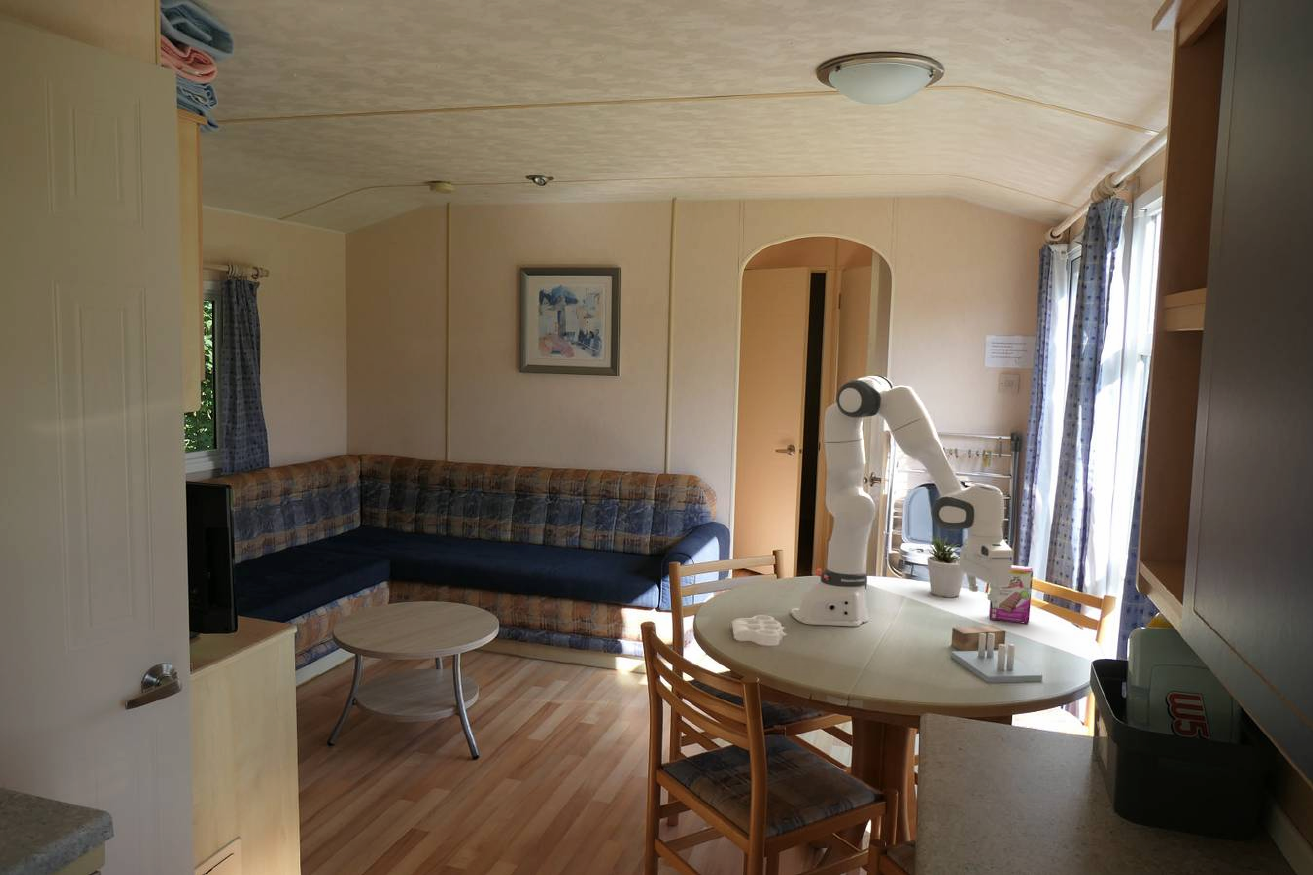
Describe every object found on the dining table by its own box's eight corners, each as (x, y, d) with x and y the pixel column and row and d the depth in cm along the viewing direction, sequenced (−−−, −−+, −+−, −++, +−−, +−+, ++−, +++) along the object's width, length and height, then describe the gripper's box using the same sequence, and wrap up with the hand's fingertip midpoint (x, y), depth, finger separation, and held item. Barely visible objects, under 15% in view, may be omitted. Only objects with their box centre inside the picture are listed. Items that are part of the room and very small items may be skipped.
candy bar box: (989, 620, 260) (992, 566, 258) (988, 615, 265) (992, 562, 263) (1029, 624, 256) (1033, 570, 255) (1028, 620, 261) (1032, 566, 260)
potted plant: (962, 590, 294) (966, 532, 293) (967, 600, 281) (971, 539, 279) (923, 587, 297) (927, 529, 295) (926, 597, 284) (930, 536, 282)
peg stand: (988, 682, 207) (990, 651, 206) (950, 657, 224) (952, 628, 224) (1042, 681, 209) (1044, 650, 208) (1000, 656, 226) (1002, 628, 226)
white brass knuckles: (731, 625, 247) (782, 627, 246) (734, 646, 229) (790, 648, 229) (731, 613, 247) (783, 615, 246) (734, 633, 229) (790, 635, 228)
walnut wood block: (962, 651, 230) (964, 633, 229) (951, 645, 235) (952, 627, 234) (1004, 648, 234) (1005, 630, 233) (992, 643, 238) (993, 625, 238)
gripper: (954, 537, 241) (952, 586, 242) (994, 553, 221) (991, 606, 222) (975, 536, 242) (973, 585, 243) (1016, 552, 222) (1014, 605, 223)
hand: (982, 595), depth 233 cm, fingers open, 8 cm apart
